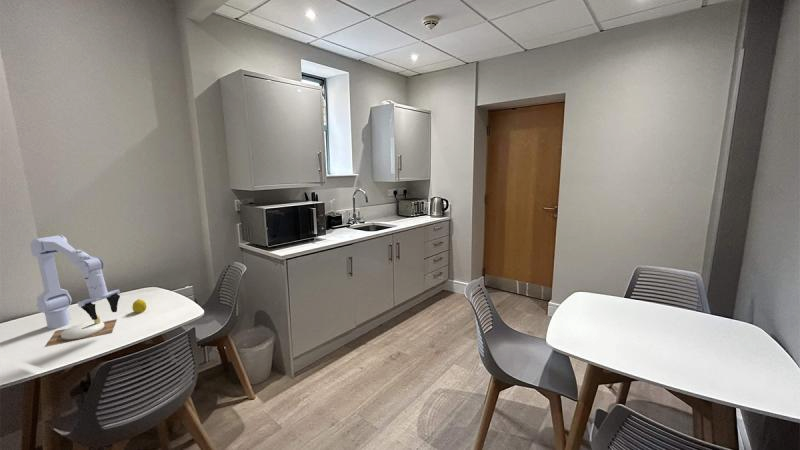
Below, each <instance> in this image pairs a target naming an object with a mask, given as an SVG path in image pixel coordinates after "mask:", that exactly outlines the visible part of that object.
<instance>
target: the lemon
mask: <svg viewBox="0 0 800 450" xmlns="http://www.w3.org/2000/svg"><path fill="white" fill-rule="evenodd" d="M146 309H147V303H146V302H145V300H143V299H139V298H138V299H136V300H135V301H134V302H133V303H132V311H133V312H134V313H135V314H140V313H141V314H143V313H144V312H145V311H146Z"/></svg>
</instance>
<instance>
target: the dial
mask: <svg viewBox="0 0 800 450" xmlns="http://www.w3.org/2000/svg"><path fill="white" fill-rule="evenodd" d="M103 322H104V321H101V317H100V315H99V314H97V319H96V320H92V321H88V322H82V323H80V324H79V323H78V324H76V325H72V326H70V327H67V328H65V329H66V330H64V331H63V332H61V338H62V339H64V340H74V339H80V338H84V337H88V336H91V335H94V334H96V333H98V332H100V331H102V330H103V329H104V327H105V326H104V323H103Z"/></svg>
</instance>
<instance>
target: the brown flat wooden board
mask: <svg viewBox="0 0 800 450" xmlns="http://www.w3.org/2000/svg"><path fill="white" fill-rule="evenodd" d="M117 320H118V319H117V318H115V319H112V320H106V321H102V322H103V323H104V326H105V327H104V329H103V330H102V331H100V332H98V333H96V334H94V335H91V336H88V337H84V338H80V339H74V340H64V339H62V338H61V332H63V331H64V330H66V329H67V328H63V329H60V330H55V331H54V333H53V334H52V336H50V338H49V339H48V341H47V343H45V345H44V348H46V347H47V348H48V347H51V346H52V347H53V346H55V345H61V344H65V343H70V342H71V343H72V342H76V341H81V340H84V339H89V338H94V337H95V338H96V337H99V336H106V335H108V334H110V335H111V334H113V331H114V328H115V326H116V324H117Z"/></svg>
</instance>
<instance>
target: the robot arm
mask: <svg viewBox="0 0 800 450" xmlns="http://www.w3.org/2000/svg"><path fill="white" fill-rule="evenodd" d="M29 246H30V249H31V254H32V256H33V257H36V258H37V264H38V268H39V272H40V276H41V282H42V286H43V289H44V290H43V292H41V294H39V295H38V296H37V297H36V299H37V302H36V303H37V304H36V307H37V310H38V311H39V312H40V313H42V314H44V317H45V322H46V327H47V329H48V330H52V329H54V330H55V329H59V328H62V327H65V326H68V325H69V324H71V323H70V321H71V314H70V309H69V308H70V305H71V304H72V301H73V299H72V297H71V295H70V294H69V290H67V289H63V288H61V285H60V280H59V274H58V271H57V266H56V265H57V264H56V260H55V255H56V254H57V253H58V252H59V253H61V254H63V255H65V256H66V257H67V260H68V262H71V263H72V264H73V265H75V266H76V267H77V269H78V271H79V272H80V274H81V276H82V278H83V279H84V280H85V284H86V286H87V291H88V293H89V298H86V299H83V300H80V301H77V304H78V307H80V308H81V309H82V310H84V312H86V313H87V314H88V316H89V317H90V318H91V320H92V321H94V320H96V319H97V315H98V314H97V312H96V304H95V302H99V301H101V300H104V299H106V300H107V301H108V303H109V306H110V311H111V313H117V312H118V303H119V300H120V298H121V296H120V294H121V291H120V289H114V290H111V291H108V289H107V285H106V280H105V278H104V273H103V269H104V267H105V266H104V265H105V264H104V261H103V259H102V258H100V257H99V256H91V255H89V254H88V253H87V252H85V251H83V249H76V248H74V247H73V246H71V245H70V244H69V243H68V240H67V237H65V236H64V235H63V234H58V235H53V236H46V237H45V236H44V237H39V238H33V239H32V240H31V241H30V245H29Z"/></svg>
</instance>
